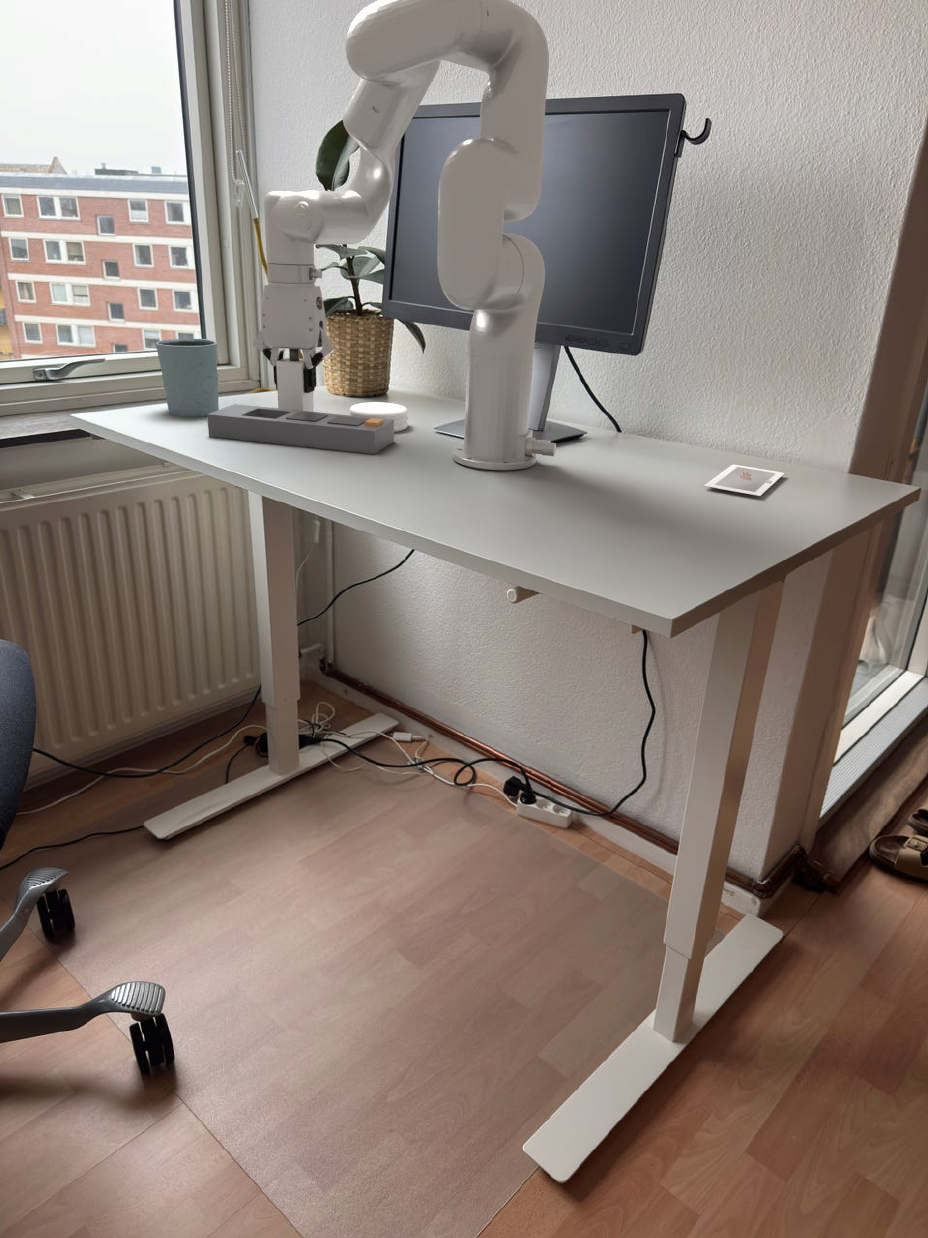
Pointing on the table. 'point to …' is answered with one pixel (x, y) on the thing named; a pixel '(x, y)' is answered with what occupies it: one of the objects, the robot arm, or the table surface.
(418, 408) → the table surface
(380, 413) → the coaster
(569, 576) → the table surface
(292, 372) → the charger
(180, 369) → the blue-grey tapered cup
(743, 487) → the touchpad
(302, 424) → the power strip
